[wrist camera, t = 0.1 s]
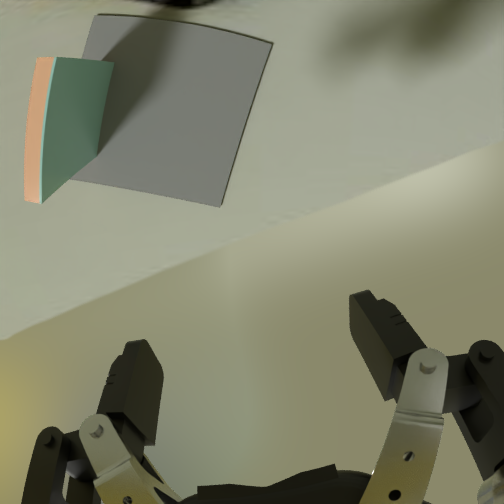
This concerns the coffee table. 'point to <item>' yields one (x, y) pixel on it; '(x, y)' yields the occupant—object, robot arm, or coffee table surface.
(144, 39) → the mat
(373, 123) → the coffee table surface
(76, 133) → the tile
